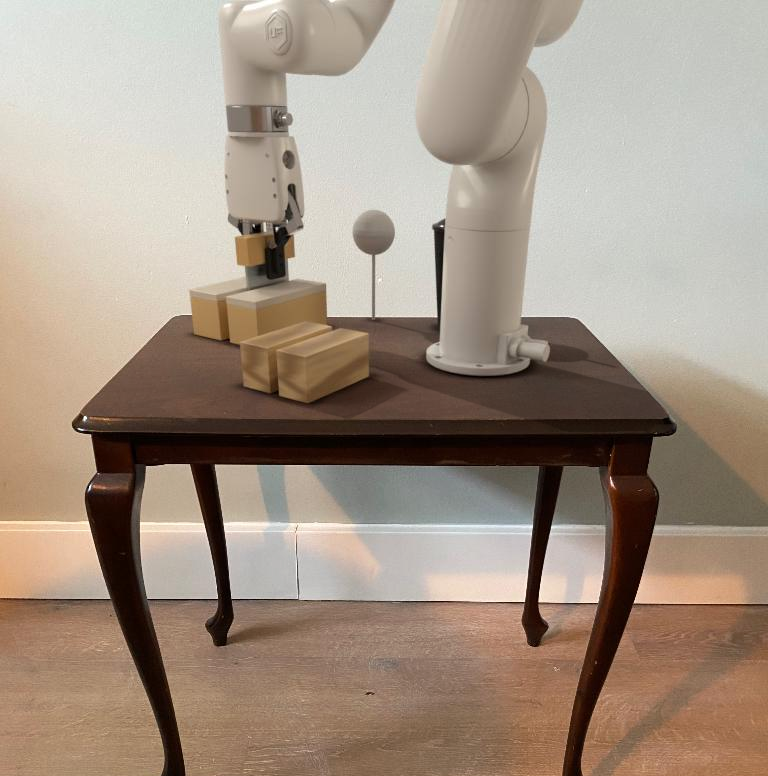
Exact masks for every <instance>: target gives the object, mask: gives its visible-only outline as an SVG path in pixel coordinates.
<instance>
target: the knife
mask: <svg viewBox="0 0 768 776" xmlns="http://www.w3.org/2000/svg"><path fill="white" fill-rule="evenodd" d="M277 231H278V229H276V232H277ZM234 245H235V255H236V265H237V266H242V267H244V272H245V277H246V286H247V291H250V290H254V289H258V288H262V287H266V286H270V285H274V284H278V283H282V282H286V281H290V276H289V275H290V273H289V259H294V258H296V249H295V234H293V235H292V236H291V238H290V239H289V240H288V245H287V246H284V252H285V269H286V275H285V277H282V278H277V279H273V280H269V279H267V277H266V264H265V263H266V261H265V248H269V247H268V243H267V232H266V231H264V232H261V233H255V234H249V235H243V236H242V235H237V236H234Z"/></svg>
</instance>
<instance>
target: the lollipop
mask: <svg viewBox="0 0 768 776" xmlns="http://www.w3.org/2000/svg"><path fill="white" fill-rule="evenodd" d="M395 229H396V228H395V224H394V222H393V220H392V218H390V216H389V215H388V214H387V213H386V212H384V211H382V210H379V209H369V210H365V211H363V212H362V213H361V214H359V215H358V216H357V217H356V219H355V221H354V223H353V226H352V238H353V241H354V244H355V246H356V247H357V249H359V250H360V251H361V252H363V253H364V254H366V255H369V256H371V321H376V256H378V255H381V254H384V253H385V252H387V251H388V250H389V249H390V247H391V246H392V244H393V243H394V240H395V235H396V230H395Z"/></svg>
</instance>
